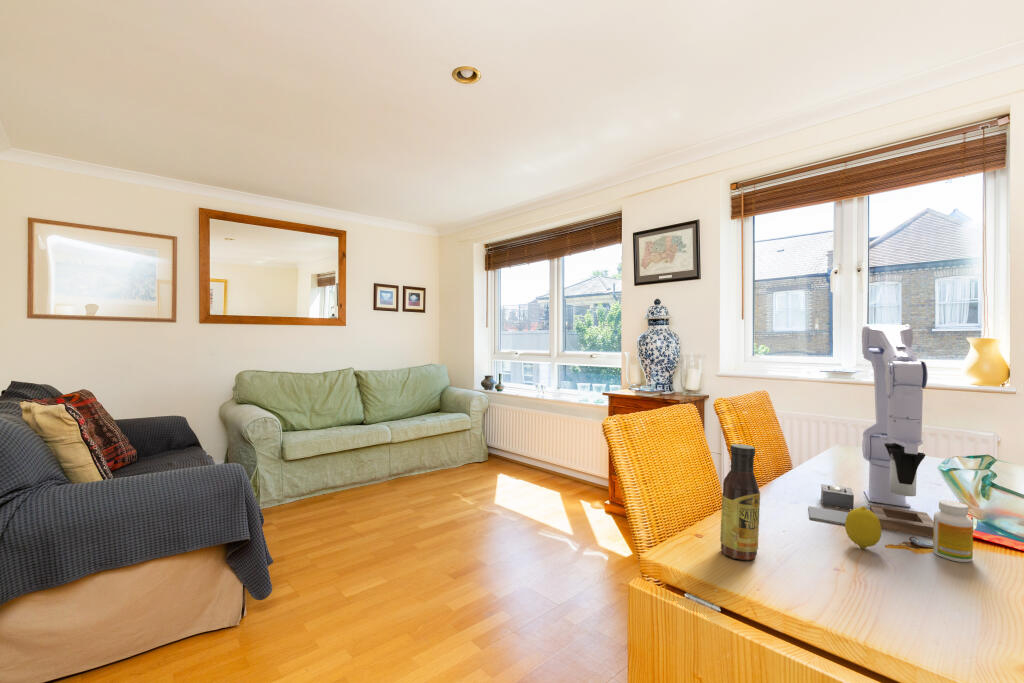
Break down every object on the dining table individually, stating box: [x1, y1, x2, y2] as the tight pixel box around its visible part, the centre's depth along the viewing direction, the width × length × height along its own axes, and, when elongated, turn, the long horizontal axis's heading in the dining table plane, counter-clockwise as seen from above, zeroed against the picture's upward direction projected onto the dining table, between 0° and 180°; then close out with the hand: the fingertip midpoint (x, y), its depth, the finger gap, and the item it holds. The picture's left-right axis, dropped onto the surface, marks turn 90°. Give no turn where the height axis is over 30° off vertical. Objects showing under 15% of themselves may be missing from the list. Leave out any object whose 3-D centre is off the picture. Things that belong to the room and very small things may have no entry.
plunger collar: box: [820, 484, 855, 511], centre depth 115 cm, size 6×6×4 cm
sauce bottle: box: [719, 443, 761, 561], centre depth 88 cm, size 7×6×20 cm
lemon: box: [844, 505, 882, 550], centre depth 91 cm, size 6×6×8 cm
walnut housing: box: [869, 503, 934, 538], centre depth 103 cm, size 10×10×2 cm
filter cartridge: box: [890, 454, 918, 497], centre depth 103 cm, size 4×4×8 cm
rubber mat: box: [808, 505, 849, 526], centre depth 107 cm, size 8×8×1 cm
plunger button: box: [830, 485, 845, 493], centre depth 115 cm, size 3×3×3 cm
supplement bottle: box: [932, 500, 974, 563], centre depth 88 cm, size 5×5×10 cm
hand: (902, 480), depth 103 cm, fingers closed on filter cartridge, 4 cm apart
